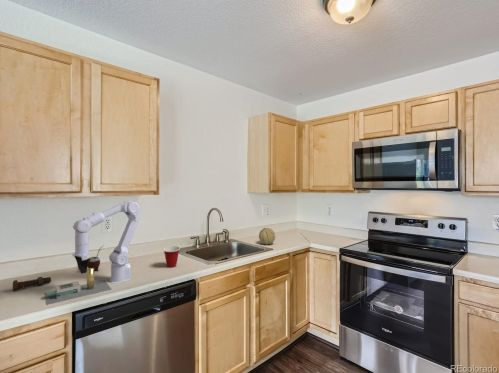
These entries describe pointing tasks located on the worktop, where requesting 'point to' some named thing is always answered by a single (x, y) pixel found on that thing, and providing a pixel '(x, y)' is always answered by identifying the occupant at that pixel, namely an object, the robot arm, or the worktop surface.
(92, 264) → the mate gourd
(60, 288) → the grey teal hollow block
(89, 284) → the pin
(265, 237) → the cantaloupe
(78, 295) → the mat
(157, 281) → the worktop surface
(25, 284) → the bolt
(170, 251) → the plastic cup
